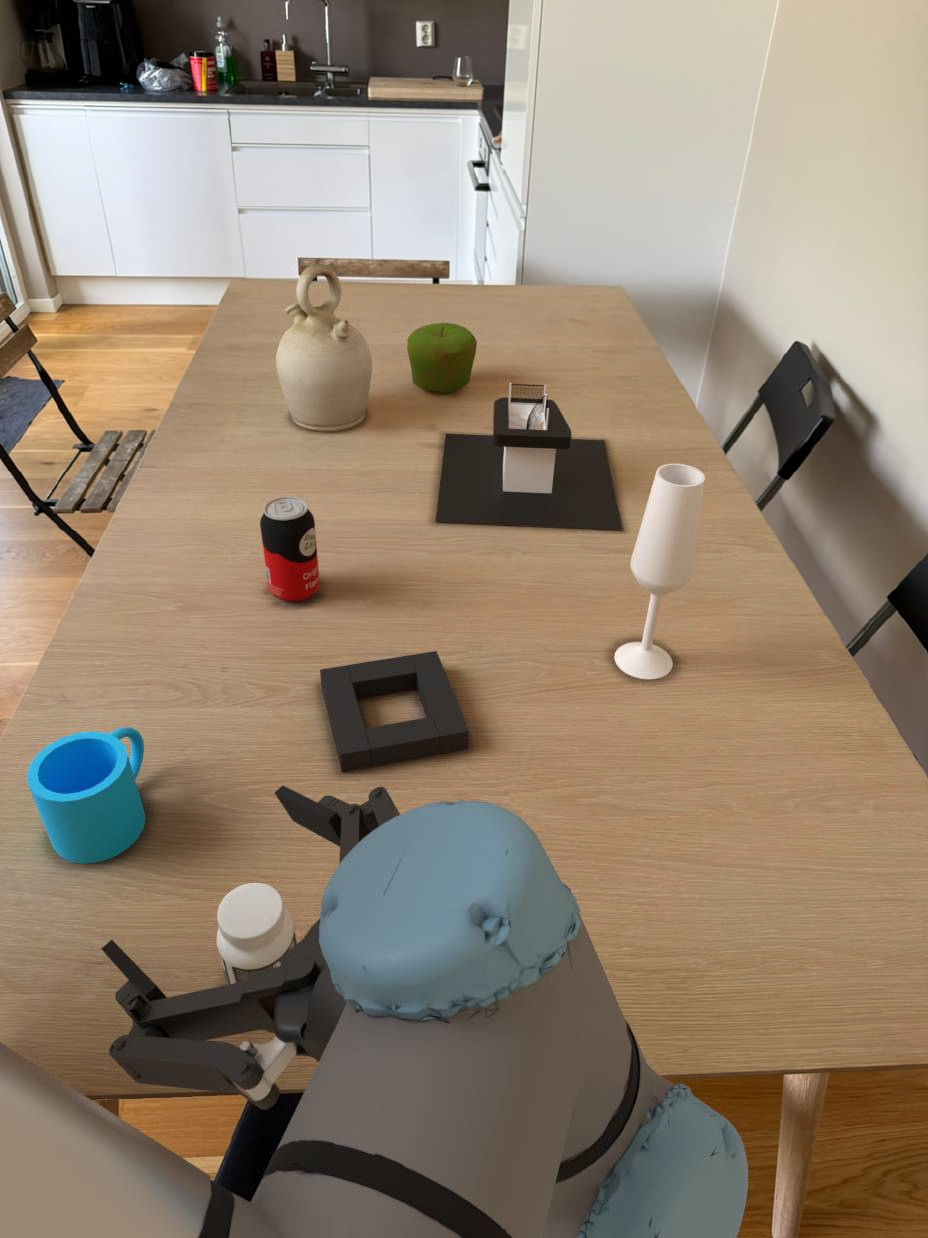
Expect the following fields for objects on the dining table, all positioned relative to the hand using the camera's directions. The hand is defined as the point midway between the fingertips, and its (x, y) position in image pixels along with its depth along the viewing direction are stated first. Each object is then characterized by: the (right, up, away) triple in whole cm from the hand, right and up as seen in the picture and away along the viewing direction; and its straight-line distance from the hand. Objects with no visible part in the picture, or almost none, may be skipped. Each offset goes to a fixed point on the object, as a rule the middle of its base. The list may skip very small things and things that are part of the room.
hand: (207, 876), depth 57 cm
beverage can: (-5, +20, +55) cm, 58 cm away
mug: (-17, -2, +26) cm, 31 cm away
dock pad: (+9, +6, +37) cm, 39 cm away
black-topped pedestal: (+26, +38, +79) cm, 92 cm away
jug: (-7, +51, +94) cm, 107 cm away
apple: (+12, +59, +106) cm, 121 cm away
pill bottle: (+1, -12, +13) cm, 18 cm away
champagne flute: (+37, +12, +46) cm, 60 cm away
